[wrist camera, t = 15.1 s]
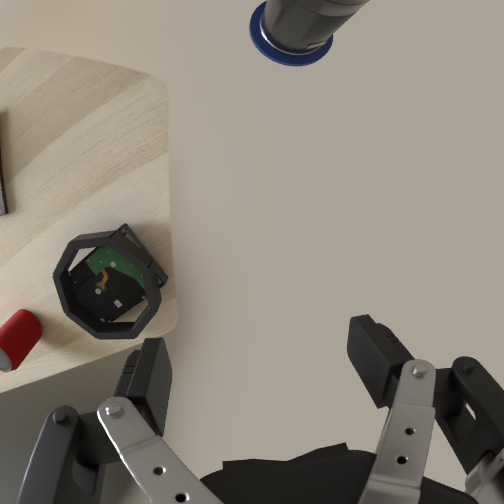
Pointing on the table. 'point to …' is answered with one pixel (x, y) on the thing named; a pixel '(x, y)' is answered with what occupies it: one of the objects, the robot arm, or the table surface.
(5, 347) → the beverage can
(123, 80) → the table surface
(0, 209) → the stand
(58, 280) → the ring
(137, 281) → the disk drive
